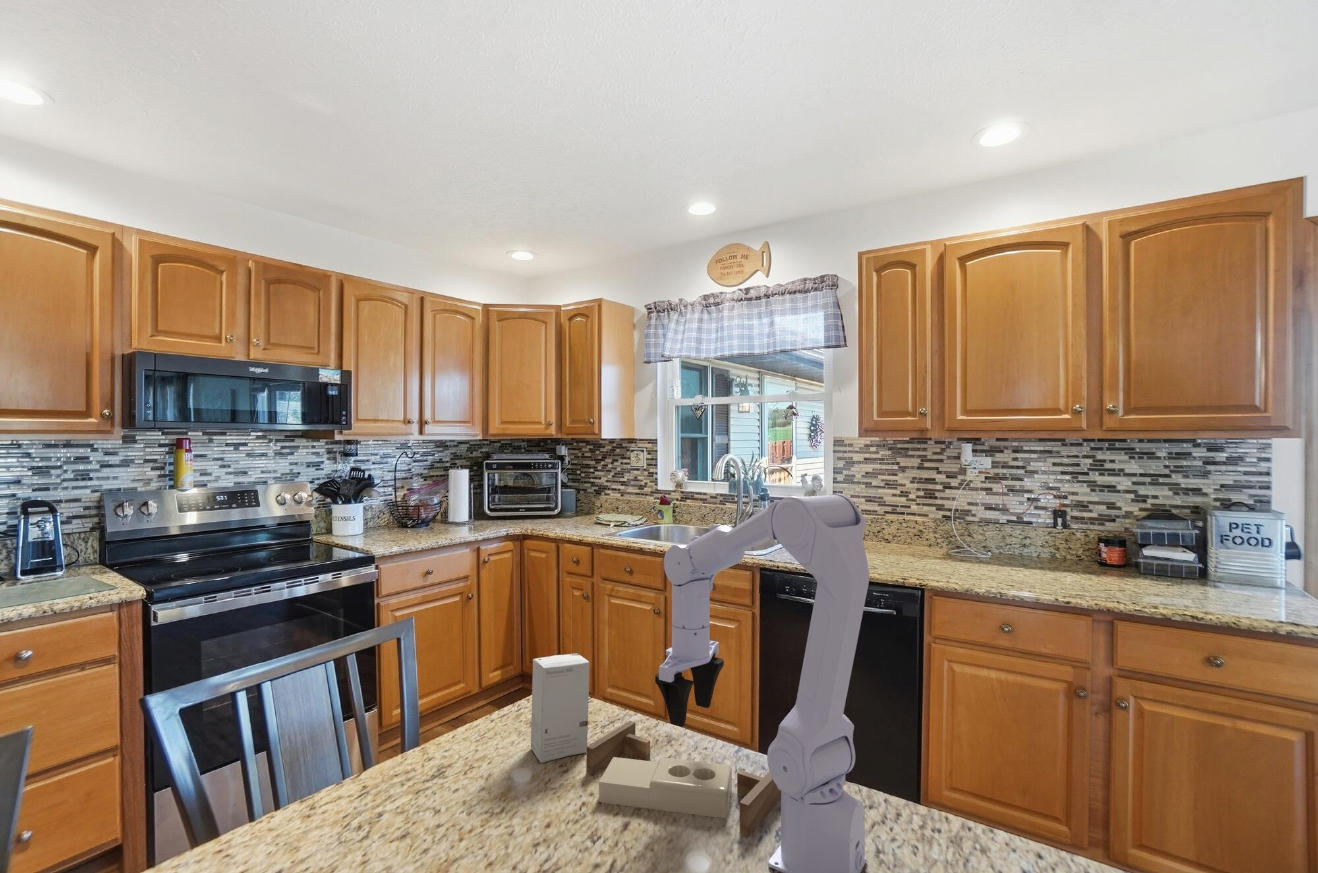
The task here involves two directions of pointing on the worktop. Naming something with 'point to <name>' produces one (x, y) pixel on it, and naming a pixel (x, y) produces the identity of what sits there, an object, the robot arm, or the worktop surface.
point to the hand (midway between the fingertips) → (690, 715)
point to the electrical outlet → (668, 785)
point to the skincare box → (559, 706)
